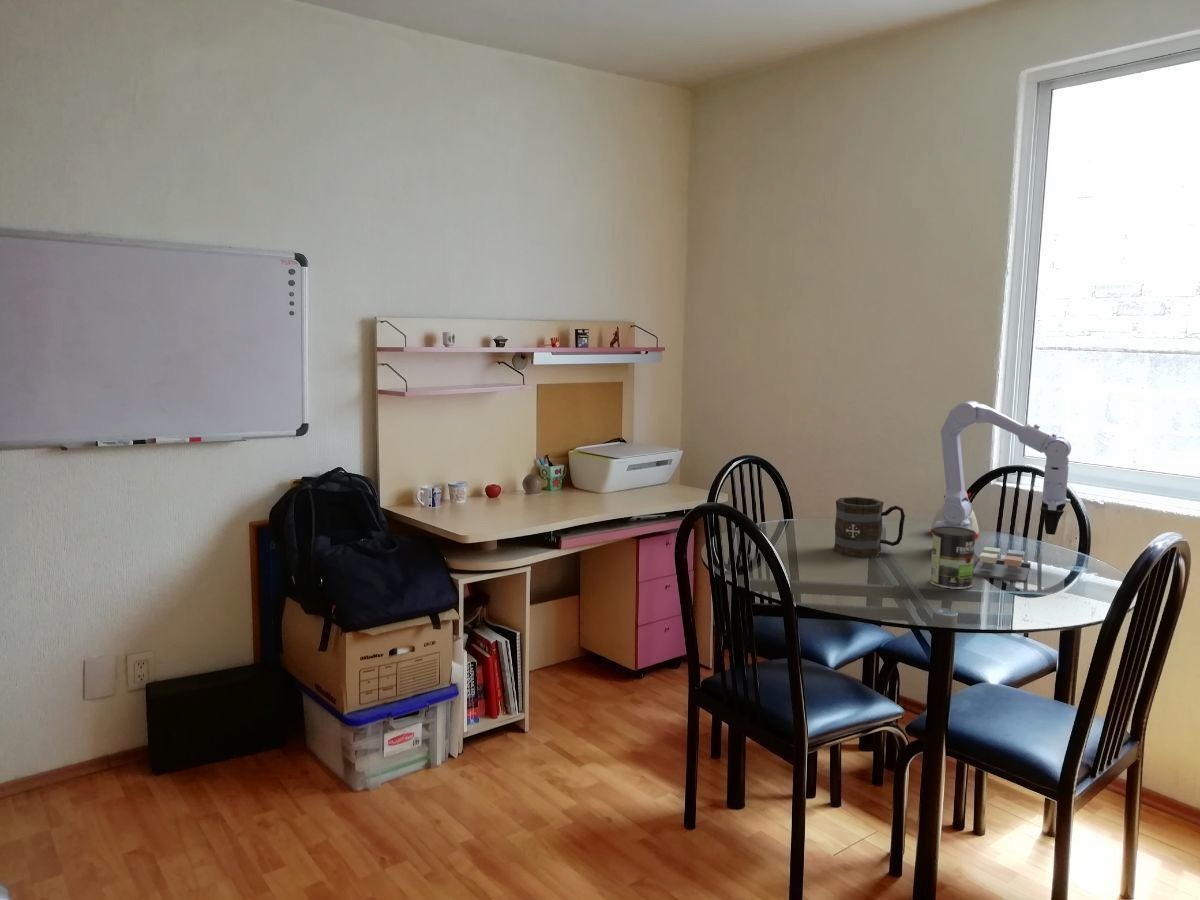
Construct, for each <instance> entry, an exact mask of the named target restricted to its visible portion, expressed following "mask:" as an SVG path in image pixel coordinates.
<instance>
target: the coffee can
mask: <svg viewBox="0 0 1200 900" xmlns="http://www.w3.org/2000/svg"><path fill="white" fill-rule="evenodd" d="M975 536H976V532H975V531H973V530H970V529H967V528H961V527H952V526H941V527H935V528H933V535H932V543H931V545H932V548H931V560H930V561H931V564H930V577H929V578H930V580H929V583H930V582H931V583H932V584H935V585H937V586H940V587H939V588H941V587H945V588H952V589H951V590H953V589H963V590H968V589H967V588H969V589H971V588H972V587H973V576H974V575H973V570H974V560H975V557H974V555H975V544H976V539H975ZM931 583H930V584H931ZM932 584H931V585H932ZM937 586H936V587H937ZM970 587H971V588H970ZM945 588H944V589H945Z"/></svg>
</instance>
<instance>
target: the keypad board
mask: <svg viewBox="0 0 1200 900" xmlns="http://www.w3.org/2000/svg"><path fill="white" fill-rule="evenodd" d="M979 560H980V555H979V557H978V561H977V563H976V565H975V566H974V567H973V576H975V577H982V578H983V577H984V578H991V579H997V580H998V579H999V580H1005V581H1012V582H1013V581H1014V582H1021V583H1026V582H1027V581H1026V580H1027V578H1028V575H1029V572H1030V570H1031V561H1030V562H1029V561H1022V565H1021V567H1018V571H1017V572H1016V571H1008V570H1007V565H1004V558H998V559H997V562H996V564H994V566H993V568H985V567H983V562H979Z"/></svg>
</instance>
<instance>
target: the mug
mask: <svg viewBox="0 0 1200 900" xmlns="http://www.w3.org/2000/svg"><path fill="white" fill-rule="evenodd" d="M835 505H836V510H835V511H836V513H835V515H836V516H835V521H834V533H835V534H834V547H833V552H835V553H837V554H838V555H841V556H842V557H843V556H844V557H850V558H856V559H857V558H859V559H865V558H867V557H868V558H872V557H871V556H877V555H878V554H879V552H880V551H881V552H882V548H881V544H883V545H888V546H891V547H894V546H898V545H900V542H901V541H902V539H903V535H904V523H905V517H906V515H905V511H904V509H903V507H900V506H898V505H894V506H890V507H889V508H888V509H886V510H885V511H883V509H884V501H881V500H878V499H877V498H870V497H863V496H862V497H861V496H852V497H851V496H849V497H848V496H847V497H846V496H845V497H840V498H839V497H838V499H837V500H835ZM896 510H898V511H900V519H899V523H898V524H899V525H898V536H897V537H896V538H897V539H896V540H895V541H890V540H887V539H882V532H883V517H885V516H888V515H890V514H891V513H892V512H893V511H896ZM879 555H880V554H879ZM879 555H878V556H879ZM878 556H877V557H878ZM868 558H867V559H868Z"/></svg>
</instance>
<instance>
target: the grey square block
mask: <svg viewBox="0 0 1200 900" xmlns="http://www.w3.org/2000/svg"><path fill="white" fill-rule="evenodd" d="M1006 553H1007V554H1006V555H1007V556H1015V557H1022V562H1024V560H1025V555H1026V551H1024V550H1016V549H1015V550H1014V549H1008V550H1007V552H1006Z"/></svg>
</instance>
